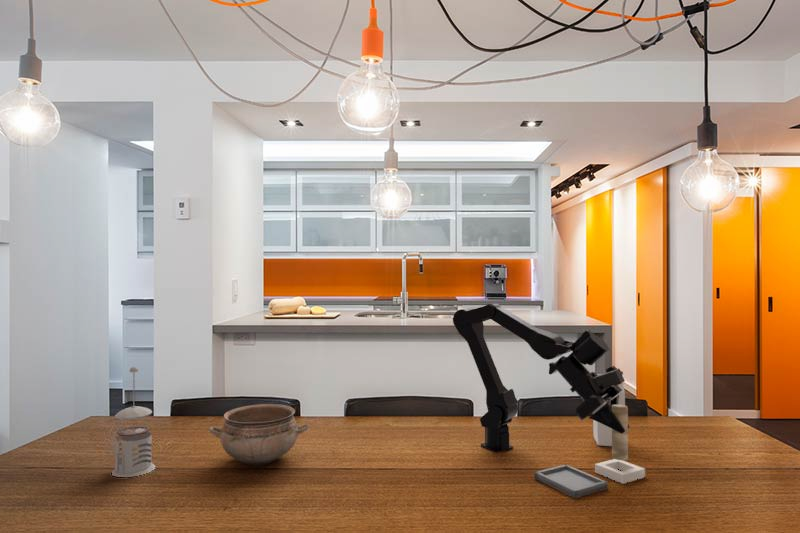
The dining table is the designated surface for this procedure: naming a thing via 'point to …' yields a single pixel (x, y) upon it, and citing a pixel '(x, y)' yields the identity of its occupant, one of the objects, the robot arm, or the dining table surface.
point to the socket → (627, 474)
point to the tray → (571, 481)
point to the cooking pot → (259, 433)
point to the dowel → (617, 438)
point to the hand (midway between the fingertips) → (626, 430)
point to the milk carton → (602, 431)
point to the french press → (132, 443)
